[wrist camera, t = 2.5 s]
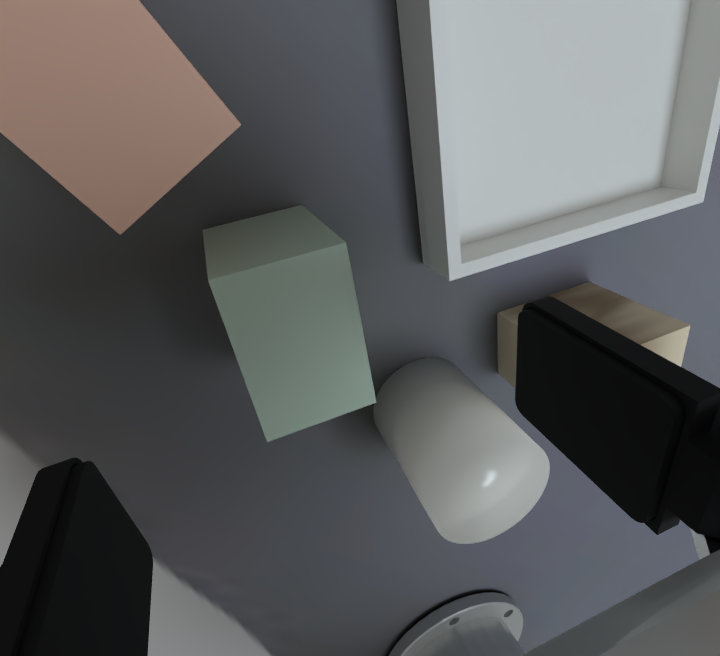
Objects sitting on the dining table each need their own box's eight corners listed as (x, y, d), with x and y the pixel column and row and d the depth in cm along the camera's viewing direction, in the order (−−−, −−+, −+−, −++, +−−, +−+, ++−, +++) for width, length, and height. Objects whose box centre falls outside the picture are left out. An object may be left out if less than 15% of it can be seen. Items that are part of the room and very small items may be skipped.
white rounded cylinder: (467, 422, 27) (547, 512, 21) (381, 456, 25) (439, 562, 19) (462, 344, 24) (552, 422, 18) (365, 377, 23) (428, 472, 17)
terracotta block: (224, 119, 16) (241, 124, 11) (142, 194, 16) (120, 234, 11) (69, -65, 13) (-11, -181, 8) (-32, 31, 13) (-178, -20, 8)
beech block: (588, 281, 25) (690, 325, 20) (582, 340, 27) (674, 394, 22) (496, 312, 24) (580, 367, 19) (497, 372, 26) (573, 437, 21)
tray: (657, 193, 24) (703, 201, 22) (423, 263, 21) (449, 281, 19) (716, -173, 17) (791, -213, 15) (381, -147, 14) (415, -192, 12)
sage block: (330, 330, 21) (376, 402, 16) (247, 357, 20) (266, 442, 15) (301, 204, 18) (346, 242, 13) (202, 229, 17) (208, 280, 12)
